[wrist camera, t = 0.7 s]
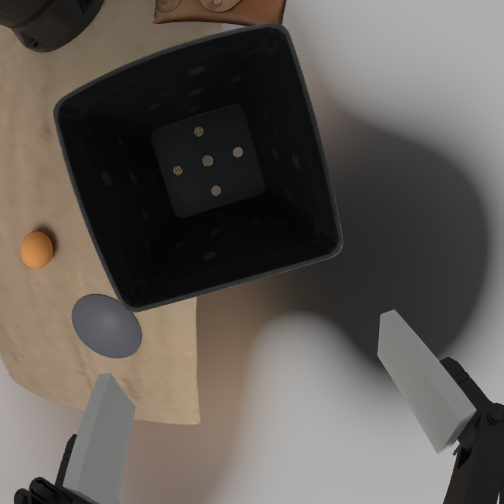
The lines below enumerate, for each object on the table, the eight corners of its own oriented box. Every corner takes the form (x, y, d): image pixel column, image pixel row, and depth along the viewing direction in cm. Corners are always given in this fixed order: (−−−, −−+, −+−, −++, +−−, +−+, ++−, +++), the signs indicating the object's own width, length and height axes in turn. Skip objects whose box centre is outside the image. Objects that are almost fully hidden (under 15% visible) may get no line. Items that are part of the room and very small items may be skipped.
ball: (28, 237, 35) (9, 250, 29) (46, 220, 34) (27, 231, 29) (45, 266, 37) (27, 280, 31) (64, 250, 36) (46, 264, 31)
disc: (59, 312, 40) (59, 312, 39) (108, 281, 39) (107, 281, 38) (105, 365, 44) (104, 366, 44) (157, 343, 43) (156, 344, 43)
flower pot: (117, 117, 31) (47, 104, 15) (258, 71, 31) (285, 18, 15) (161, 248, 38) (126, 317, 22) (295, 208, 38) (345, 253, 22)
